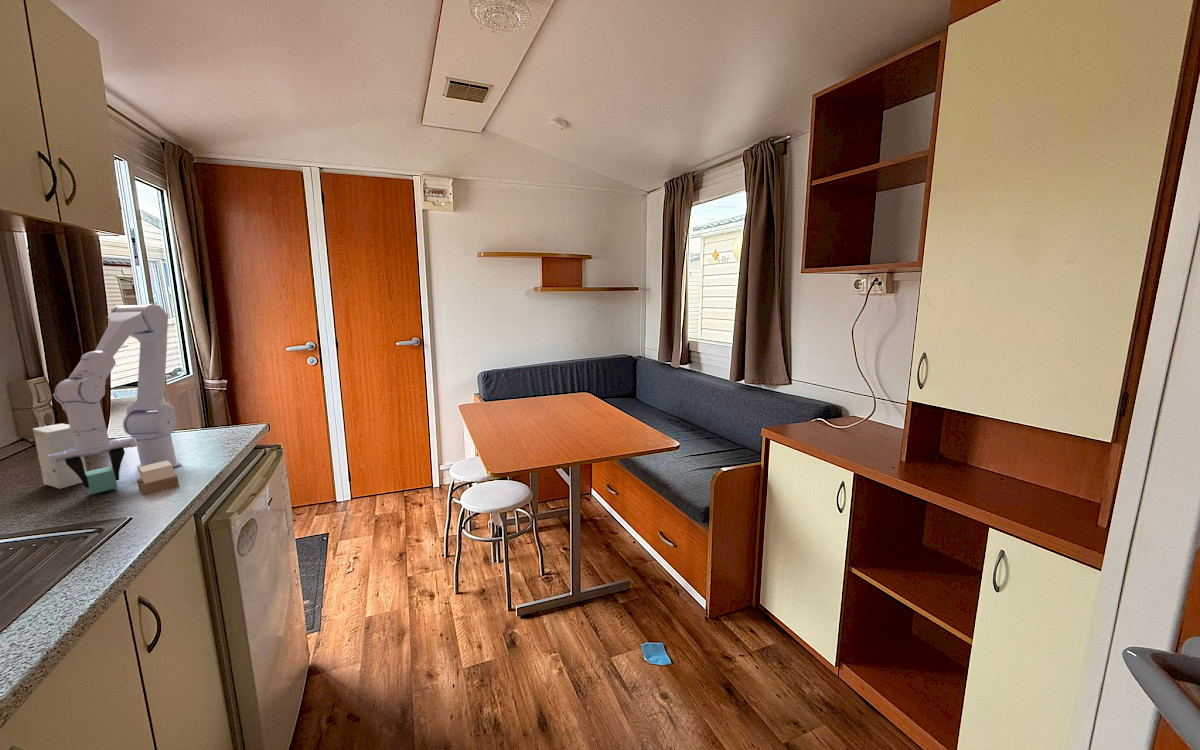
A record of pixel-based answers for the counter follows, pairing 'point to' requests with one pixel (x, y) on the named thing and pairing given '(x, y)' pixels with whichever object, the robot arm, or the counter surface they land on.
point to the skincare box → (54, 442)
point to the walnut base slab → (157, 485)
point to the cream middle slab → (156, 471)
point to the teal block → (101, 480)
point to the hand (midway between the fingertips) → (102, 483)
